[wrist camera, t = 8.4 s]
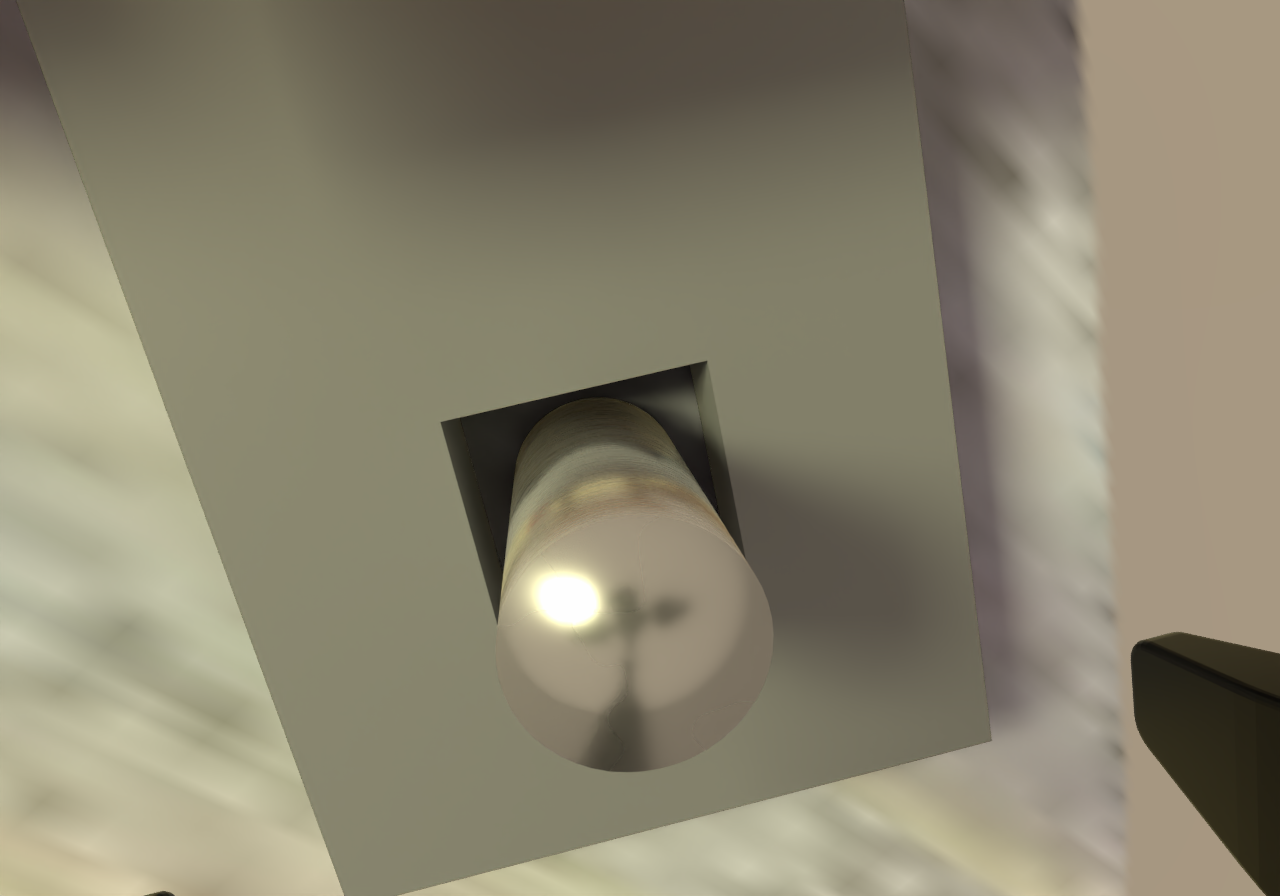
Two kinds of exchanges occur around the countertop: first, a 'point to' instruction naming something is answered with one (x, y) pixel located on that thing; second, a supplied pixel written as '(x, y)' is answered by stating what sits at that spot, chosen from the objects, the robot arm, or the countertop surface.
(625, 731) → the peg
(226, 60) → the socket board
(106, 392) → the countertop surface
